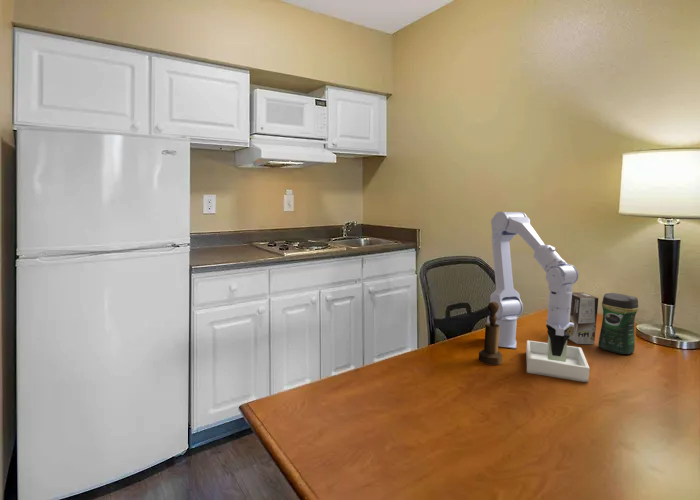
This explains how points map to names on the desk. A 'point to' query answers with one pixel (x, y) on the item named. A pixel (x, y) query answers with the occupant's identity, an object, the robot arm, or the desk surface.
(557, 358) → the green block
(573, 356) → the white bin
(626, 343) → the coffee jar
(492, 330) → the wooden pepper mill
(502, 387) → the desk surface
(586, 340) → the coffee box
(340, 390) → the desk surface
